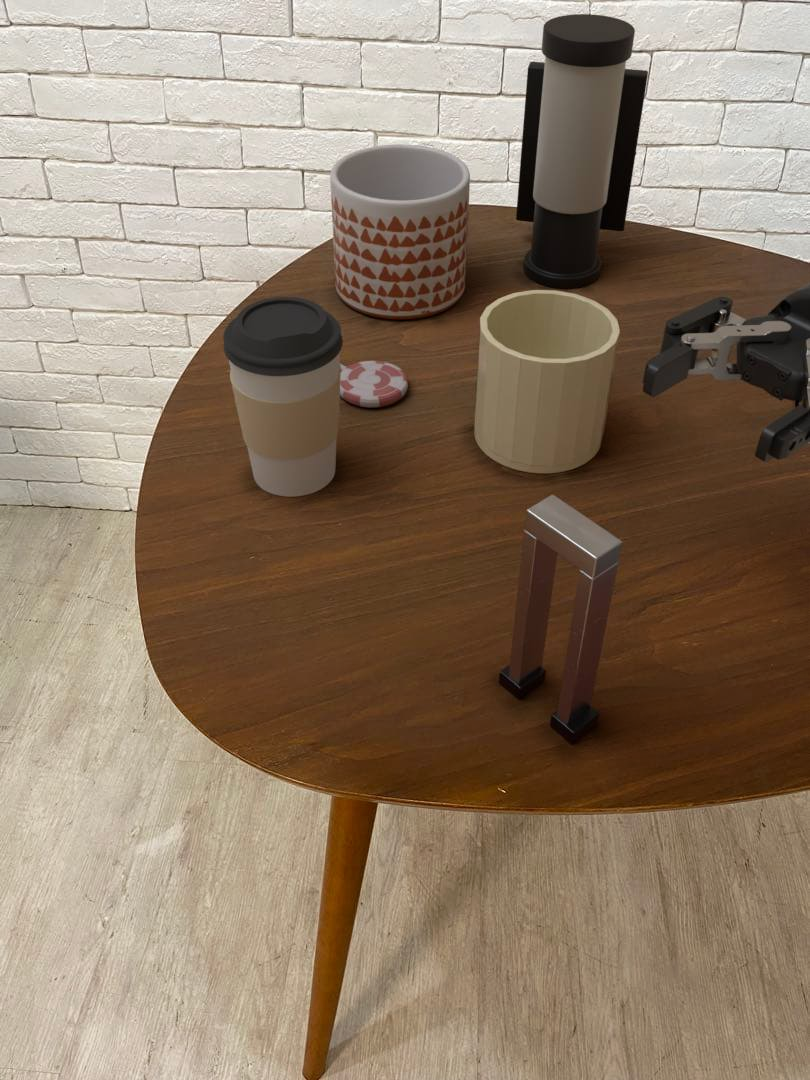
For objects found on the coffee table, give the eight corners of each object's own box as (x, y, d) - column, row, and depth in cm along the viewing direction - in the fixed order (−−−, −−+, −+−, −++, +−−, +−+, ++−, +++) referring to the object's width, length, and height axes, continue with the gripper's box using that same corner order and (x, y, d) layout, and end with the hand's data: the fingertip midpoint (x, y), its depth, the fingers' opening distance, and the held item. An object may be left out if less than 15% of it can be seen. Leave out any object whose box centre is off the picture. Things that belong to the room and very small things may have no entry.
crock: (613, 411, 95) (631, 303, 87) (586, 485, 87) (603, 373, 80) (493, 387, 98) (501, 280, 90) (457, 457, 90) (462, 346, 82)
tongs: (498, 682, 72) (515, 504, 61) (524, 664, 73) (545, 486, 62) (571, 745, 68) (604, 566, 57) (597, 724, 69) (634, 546, 58)
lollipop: (308, 320, 104) (422, 377, 97) (308, 329, 105) (422, 386, 97) (258, 347, 100) (373, 408, 93) (260, 356, 101) (374, 418, 94)
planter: (334, 323, 106) (328, 202, 97) (336, 258, 116) (331, 144, 107) (469, 321, 106) (475, 200, 98) (460, 256, 116) (464, 142, 108)
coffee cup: (231, 449, 91) (210, 293, 80) (333, 430, 93) (324, 276, 82) (252, 515, 84) (231, 355, 74) (360, 493, 86) (355, 335, 76)
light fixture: (500, 282, 112) (518, 36, 95) (515, 236, 120) (534, 2, 103) (614, 295, 110) (652, 46, 93) (621, 247, 118) (658, 10, 101)
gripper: (778, 232, 72) (622, 311, 65) (974, 315, 64) (823, 417, 57) (752, 326, 77) (605, 411, 70) (931, 414, 70) (788, 520, 62)
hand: (703, 414), depth 63 cm, fingers open, 8 cm apart
